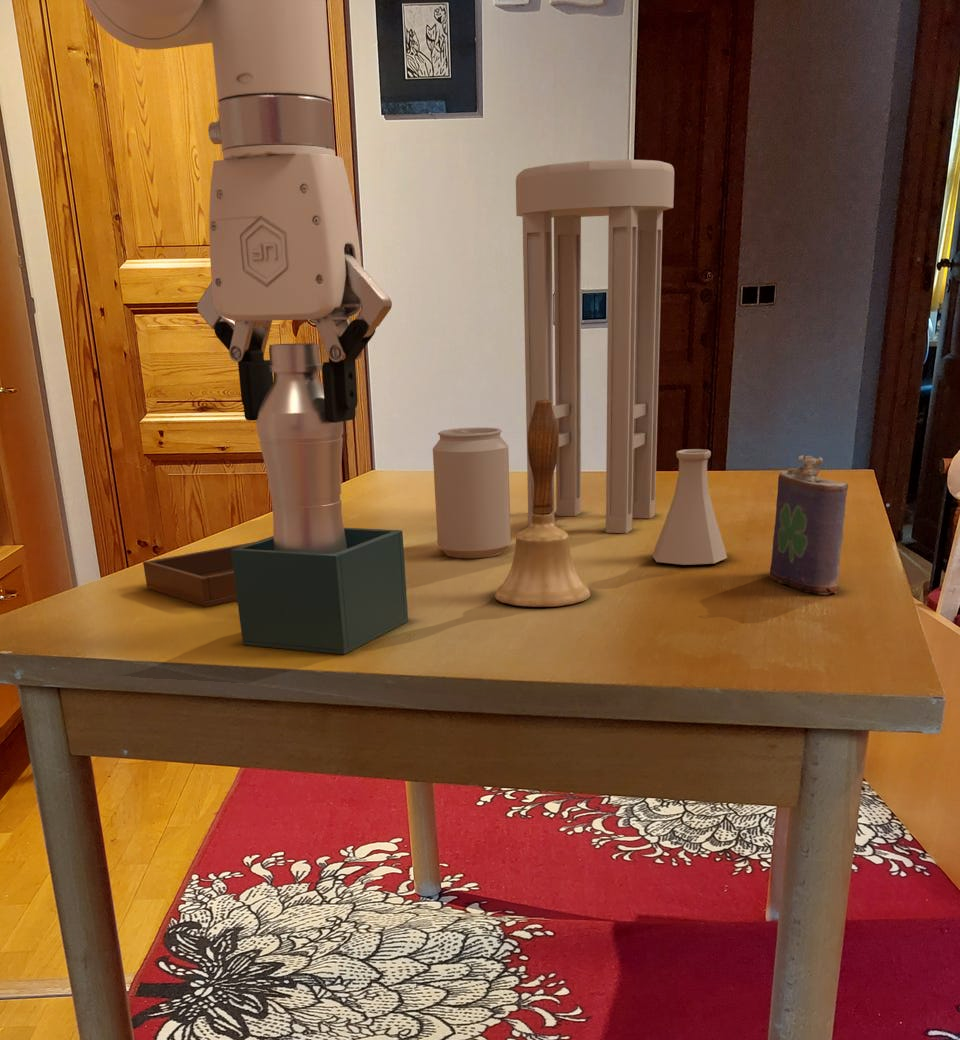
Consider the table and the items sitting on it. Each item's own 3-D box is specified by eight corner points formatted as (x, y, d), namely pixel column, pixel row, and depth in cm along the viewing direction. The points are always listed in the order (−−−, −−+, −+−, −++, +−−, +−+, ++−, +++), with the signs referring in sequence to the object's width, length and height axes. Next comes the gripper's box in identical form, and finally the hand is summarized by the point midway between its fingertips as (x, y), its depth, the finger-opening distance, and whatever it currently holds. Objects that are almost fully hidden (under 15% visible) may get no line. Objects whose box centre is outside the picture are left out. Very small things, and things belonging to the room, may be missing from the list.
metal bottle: (369, 611, 95) (353, 342, 86) (338, 632, 89) (317, 345, 80) (295, 607, 96) (272, 343, 88) (260, 628, 90) (231, 346, 82)
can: (512, 558, 117) (509, 431, 111) (437, 561, 117) (430, 434, 111) (509, 543, 123) (506, 423, 118) (438, 546, 123) (432, 426, 118)
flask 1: (731, 553, 115) (737, 446, 111) (722, 568, 109) (728, 456, 104) (658, 551, 117) (661, 446, 113) (645, 566, 111) (647, 456, 107)
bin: (344, 654, 87) (335, 555, 84) (242, 644, 91) (230, 549, 88) (408, 621, 96) (402, 530, 92) (312, 613, 99) (304, 525, 96)
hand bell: (561, 581, 106) (560, 394, 100) (608, 599, 100) (610, 399, 93) (479, 593, 103) (472, 401, 96) (521, 613, 97) (517, 407, 90)
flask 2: (844, 593, 98) (856, 460, 94) (812, 597, 98) (823, 463, 93) (789, 572, 106) (798, 448, 102) (760, 575, 106) (767, 451, 101)
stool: (504, 532, 130) (494, 167, 115) (552, 508, 142) (549, 178, 127) (639, 537, 124) (647, 154, 109) (676, 512, 137) (688, 167, 121)
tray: (205, 607, 103) (201, 578, 102) (146, 588, 110) (142, 561, 109) (355, 575, 112) (353, 549, 111) (291, 560, 120) (289, 535, 119)
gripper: (138, 139, 79) (173, 422, 86) (361, 119, 72) (377, 427, 80) (206, 150, 85) (233, 413, 93) (418, 132, 78) (428, 417, 86)
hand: (300, 417), depth 86 cm, fingers closed on metal bottle, 6 cm apart
